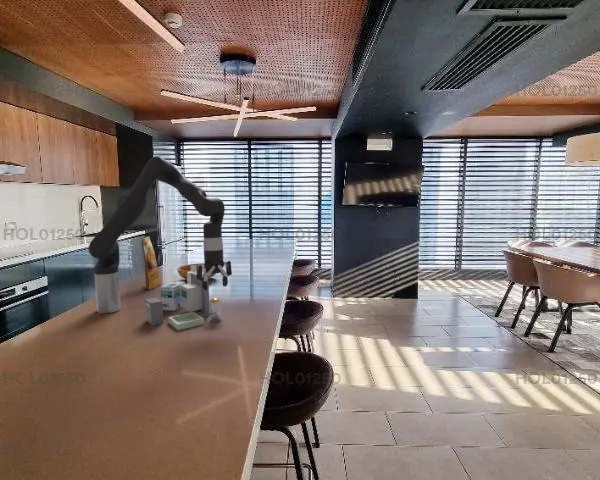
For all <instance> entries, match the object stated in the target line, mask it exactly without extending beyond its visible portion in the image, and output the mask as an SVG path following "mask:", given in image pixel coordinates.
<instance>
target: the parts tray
mask: <svg viewBox="0 0 600 480" xmlns="http://www.w3.org/2000/svg"><path fill="white" fill-rule="evenodd" d="M167 323H168V324H169V325H170V326H172V327H173V328H174V329H176V331H181V330H184V329H190V328H192V327H197V326H200V325H201V326H202V325H204V324H205V318H204V317H201V316H200V315H198V314H197V313H195V312H193V311H191V312H185V313H181V314H177V315H176V314H175V315H173V316H168V317H167Z"/></svg>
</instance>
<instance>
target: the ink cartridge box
mask: <svg viewBox="0 0 600 480" xmlns="http://www.w3.org/2000/svg"><path fill="white" fill-rule="evenodd" d="M190 267H191V271H189V272H187V279H186V280H187V281H186V282H187V283H186V284H190V283H191V273H193V272H195V273H197V268H195V267H197V265H191V266H190ZM204 272H205V268H203V270H202V275H203V273H204Z"/></svg>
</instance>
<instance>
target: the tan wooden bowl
mask: <svg viewBox="0 0 600 480" xmlns="http://www.w3.org/2000/svg"><path fill="white" fill-rule="evenodd" d="M204 263H205V262H204ZM204 263H190V264H189V263H188V264H185V265H181V266H178V267H177V268H176V270H177V272H178V275H179V276H180V277H181V278H183V279H185V280H187V272H189V271H191V267H190V266H191V265H198V264H199V265H204ZM195 268H197V267H195ZM205 270H206V269H205ZM216 275H217V273H215V274H210V276H209V277H208V279H210V278H212V277H215V276H216Z"/></svg>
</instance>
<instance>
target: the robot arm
mask: <svg viewBox="0 0 600 480" xmlns="http://www.w3.org/2000/svg"><path fill="white" fill-rule="evenodd" d="M156 180H157V181H158V182H161V183H164V184H166V185H169V186H171V187H173V188H175V189H176V190H177V191H178V193H179V194H180V195H181V197H183V198H184V199H185V200H186V201H188V202H189V203H191V205H193V207H194V209H195V210H196V211H197V213H198V214H200V215H201V216H202V217H203V216H204V217H209V220H208V222H205V223H204V224H203V228H202V229H203V259H204V265H199V264H198V263H197V264H198V265H197V279H198V280H201V281H202V288H203V289H204V290H207V281H206V280H207V278H208V277H209V276H210V274H215V273H216V274H220V275H221V276H222V279H221V280H222V287H227V286H228V283H229V282H228V281H229V280H228V277H229V276H232V274H233V272H232V262H231V260H227V259H226V260H225V261H224V244H223V243H224V242H223V237H222V236H223V234H222V233H223V231H222V226H223V225H222V224H223V221H224V217H225V211H226V209H225V208H226V207H225V203H224V202H223V200H222V199H220V198H218V197H210V198H208V197H207V193H206V191H205V190H203V189H202V188H201V187H200V186H199V185H197V184H196V183H194V182H192V181H191V180H189V179H188V178H187V177H186V176H184V175H183V174H182V173H181V172H180V171H179V170H178V169H177V168H176V167H175V165H174V164H173V163H171V162H170V161H169V160H166V159H165V158H163V157H162V156H161V157H160V156H153V157H151V158H150V159H148V161H147V162H146V163H145V165H144V167H143V169H142V171H141V172H140V174H139V176H138V177H137V179H136V181H135V182H134V183H133V185H132V187H131V189H130V190H129V191H128V193H127V194H126V196H125V197H124V198H123V199H122V201H121V202H119V203H120V204H119V205H117V208H116V209H115V211H114V212H113V214H111V216H110V218H109V219H108V221H107V222H106V223H105V225H104V226H103V228H102V229H101V230H99V232H98V233H97V234H96V235H95V237H93V239H91V240H90V242H89V245H88V251H89V255H90V256H91V257H93V258H94V259H97V262H96V264H95V266H94V268H93V271H94V283H95V285H94V286H95V290H94V295H95V297H94V298H95V308H96V312H97V313H98V314H99V315H100V314H110V313H115V312H118V311H121V309H122V305H121V293H120V291H121V290H120V278H119V265H120V245H119V242H118V239H119V238H120V236H121V235H122V234H124V233H125V232H126V231H127V230H128V229H129V228H130V227H132V226H133V225H135V223H136V222H137V221H138V220H139V218H140V217H141V216H142V214H143V213H144V211H145V210H146V208H147V202H148V195H149V194H148V193H149V190H150V188H151V186H152V185H153V184H154V182H155V181H156ZM224 266H225V270H226V271H225V270H224ZM203 268H205V269H206V270H205V272H204V273H203V276H202V270H203ZM216 274H215V275H216ZM208 279H209V278H208Z"/></svg>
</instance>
